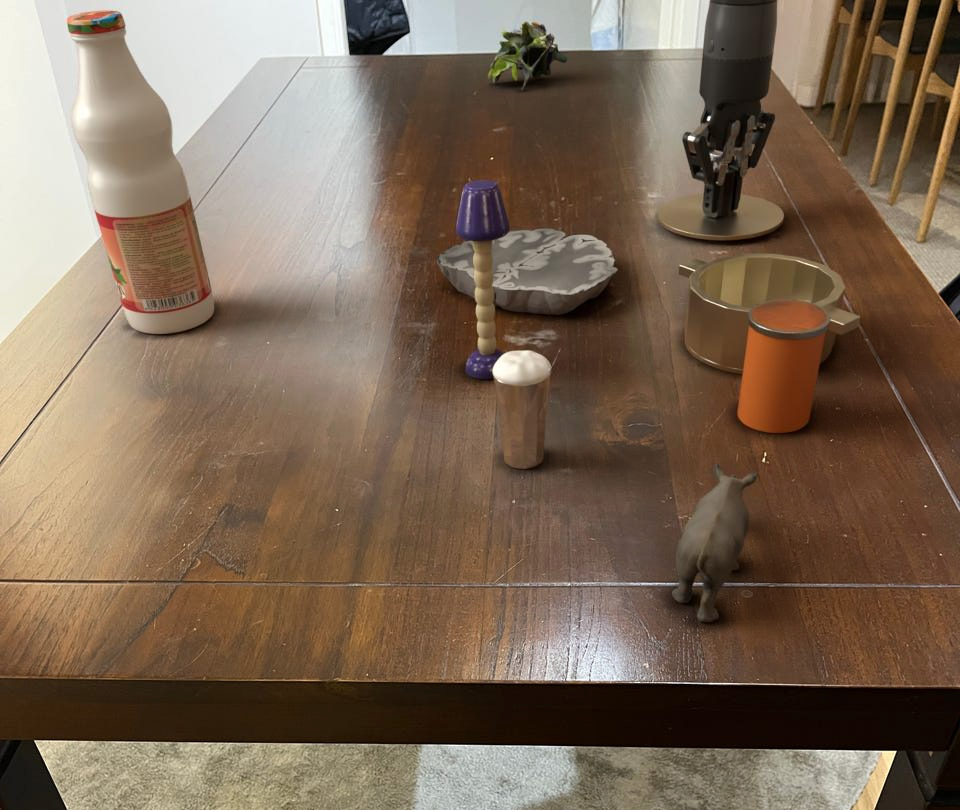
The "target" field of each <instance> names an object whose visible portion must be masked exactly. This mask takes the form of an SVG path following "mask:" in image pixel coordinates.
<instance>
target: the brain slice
mask: <svg viewBox="0 0 960 810" xmlns="http://www.w3.org/2000/svg"><path fill="white" fill-rule="evenodd" d="M474 253H475V251H474V249H473V245H472V241H470V240H464V241H462V242H460V243H457V244H454V245H450V246H449V247H448V248H447V249H445V250H444V252H443V253H440V254H439V255H438V256H437V257H436V263H437V266H438V267H439V269H440V272H441V274H442V275H443V276H444V277H445V278H446V279H448V281H449V282H450V283H451V285H452V286H453V287H454V288H455V289H456V290H457V291H458V292H459V293H462V294H463V295H467V296H468V297H471V298H473V299H474V300H475V289H476V285H475V281H474V273H475V270H476V269H475V267H474V264H473V256H474ZM491 253H492V256H493V265H492V268H491V269H492V272H493V277H494V278H493V284H492V287H493V290H494V300H493V304H494V307H500V308H501V309H502V310H505V311H510V312H514V313H529V314H535V315H546V316H550V315H554V316H561V315H566V314H568V313H570V312H572V311H574V310H575V309H576V308H577V307H579V306H581V305H582V304H583V303H584V302H587V301H588V300H589V299H595V298H597V297H598V296H599V295H600V294H601V293H602V292H603V291H604V290H605V288H606V287H607V285H608V283H609V282H610V280H611V278H612V277H613V276H614V275H616V273H618V268H617V267H616V266H615V265H616V257H614V256H613V250H612V249H611V248H610V247H608V244H607V243H606V242H605V241H604V240H602V239H600V238H598V237H596V236H594V235H592V234H587V233H576V234H570V235H567V236H566V233H565V231H564V230H559V229H554V228H550V227H538V228H533V229H525V228H524V229H523V228H522V229H516V230H509V232H508V234H507V235H506V236H504V237H502V238H499V239H495V240H493V245H492V249H491Z"/></svg>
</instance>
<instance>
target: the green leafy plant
mask: <svg viewBox="0 0 960 810" xmlns="http://www.w3.org/2000/svg"><path fill="white" fill-rule="evenodd" d="M501 36H502V37H503V38H504V39H505V40H506V41H503V40H499V43H498V44H499V45H500V48H499V49H498V52H497V54H496V55H495V57H494V59H493V61H492V62H491V64H490V69H489V72H488V73H487V79H488V80H489V81H490V80H491V78H492V81H493V84H494V85H496V84H497V82H498V81H499V80H500V77H501V75H502V74H503V73H504V72H506V71H507V70H510V69H511V76H512V78H513V79H514V80H515V81H518V78H519V77H518V70H519V71H522V77H523V80H524V81H523V85H522V87H521V92H522V91H524V89H525V87H526V85H527V83H528V81H529V79H530V76H531V75H532V76H531V77H532V78H534V79H535V80H540V79H541V76H542V75H543V76H549V77H550V76H551V73H552V70H551V64H552V63H553V62H554V61H557V62H560V63H567V62H568V58H567V56H565V55H564V54H562V53H561V52H560V51H559V46H558V44H557V43H554V42H555V38H556V37H555V36H554V34H552V33H548V34H547V29H546V26H545V24H544V23H541V24H540V23H538V22H536V21H532V22H531V24H530V23H529V22H528V21H524V22H522V24H521V27H519V29H517V28H513V30H512V31H510V32H509V31H506V30H505V29H503V30H502V31H501Z"/></svg>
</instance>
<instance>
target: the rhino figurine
mask: <svg viewBox="0 0 960 810" xmlns="http://www.w3.org/2000/svg"><path fill="white" fill-rule="evenodd" d="M712 474H713V477H714V479H716V480H717V482H718V484H717V485H715V486H714V487H713V488H712V489H711V490H710V491H709V492H707V493H706V494H705V495H704V496H703V497H702V498H700V500H699V501H698V502H697V504H696V506H695V508H694V510H693V512H692V516H691V517H690V518H689V519H688V520H687V522H686V524H685V526H684V527H683V530H682V534H681V538H680V539H679V542H678V544H677V548H676V552H675V563H676V564H675V565H676V569H677V573H678V575H679V582H678V585H677V588H675V589H673V590H672V592H671V597H673V599H674V600H675V601H676V602H677V603H680V604H686V603H688V602H690V600H691V599H692V597H693V596H694V590H693V589H692V587H693V586H694V582H695V580H696V577H697V575H699V573H700V574H701V576H702V584H703V587H702V588H703V589H702V593H701V598H700V606H699V608H698V610H697V614H696V618H697V619H698V621H699V622H701V623H702V622H703V623H711V622H714V621H717V620H718V619H719V613H718V610H717V608H716V607H715V604H716V601H717V598H718V595H719V592H720V590H721V589H722V587H723V586H724V584H725V583H726V582H727V581H728V579H729V577H730V576H731V574H732V572H733V571H737V570H739V568H740V565H739V562H738V561H737V559H738V558H739V557H740V555H741V554H742V552H743V549H744V545H745V538H746V536H747V534H748V532H749V528H750V512H749V510H748V508H747V505H746V502H745V501H744V499H743V491H744V490H745V488H747V487H749V486H751V485H753V484H755V483H756V481H757V476H758V475H757V473H756V472H751V473H749V474H747V475H746V476H744V477H743V478H742V479H740V478H737V477H736V474H732V475H731V476H728V475H726V474H725V472H724V470H723V467H721V465H719V463H716V464H715V465H714V468H713V469H712Z"/></svg>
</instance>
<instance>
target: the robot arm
mask: <svg viewBox="0 0 960 810" xmlns="http://www.w3.org/2000/svg"><path fill="white" fill-rule="evenodd" d="M708 2H709V4H708V8H707V13H706V18H705V25H704V34H703V42H702V44H703V45H702V46H703V47H702V54H701V67H700V69H701V70H700V78H699V90H698V93H699V95H700V97H701V98H702V100H703V102H704V107H703V111H702V114H701V116H700V121H699V122H700V125H699V126H698V127H697V128H696V129H695V130H694V131H693V132H690V131H685V132H684V133H683V135H682V139H681V140H682V144H683V148H684V152H685V156H686V159H687V163H688V166H689V172H690V174H691V178H692V179H693V180H697V181H700V182H702V183H703V185H704V187H703V194H704V196H703V198H704V199H703V206H702V208H703V212H704V214H705V215H707V216H710V217H713V218H716V217H718V216H720V215H721V212H722V203H723V193H724V184H723V183H724V180H725V175H726V169H727V166H729V167H733V168H735V179H734V188H733V196H732V205H731V211H734V210H737V209H738V205H739V201H740V197H741V194H742V188H743V181H744V180H743V179H744V178H745V177H746V176H747V173H748V170H749V169H755V168H756V167H757V166H758V164H759V161H760V159H761V156H762V154H763V151H764V149H765V146H766V143H767V142H768V139H769V135H770V133H771V130H772V129H773V125H774V123H775V120H776V115H775V113H772V112H769V111H765V110H763V109H762V102H761V100H763V99H764V98H766V97H767V95H768V93H769V90H770V82H771V74H772V67H773V59H774V51H775V42H776V36H777V27H778V0H709V1H708ZM753 145H754V147H753ZM715 163H716V168H717V171H716V172H714V170H715V168H714V167H715Z"/></svg>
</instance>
